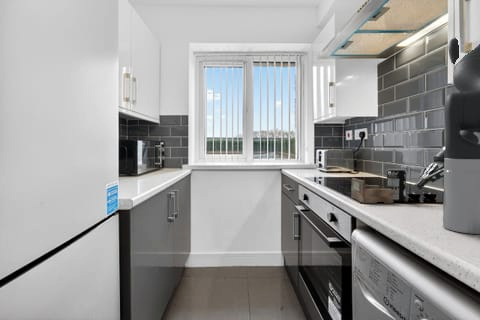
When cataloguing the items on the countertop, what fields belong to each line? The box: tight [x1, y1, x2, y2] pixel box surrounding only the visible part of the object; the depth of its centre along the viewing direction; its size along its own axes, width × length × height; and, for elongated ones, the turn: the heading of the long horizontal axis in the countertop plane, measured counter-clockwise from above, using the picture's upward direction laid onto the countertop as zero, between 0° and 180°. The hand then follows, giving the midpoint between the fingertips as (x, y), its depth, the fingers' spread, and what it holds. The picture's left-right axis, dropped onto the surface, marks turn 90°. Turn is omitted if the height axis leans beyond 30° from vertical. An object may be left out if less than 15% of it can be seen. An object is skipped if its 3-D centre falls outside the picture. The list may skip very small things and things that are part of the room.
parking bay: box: [350, 177, 394, 204], centre depth 116 cm, size 11×12×8 cm
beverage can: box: [386, 168, 407, 202], centre depth 116 cm, size 7×7×12 cm
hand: (417, 187), depth 116 cm, fingers closed
